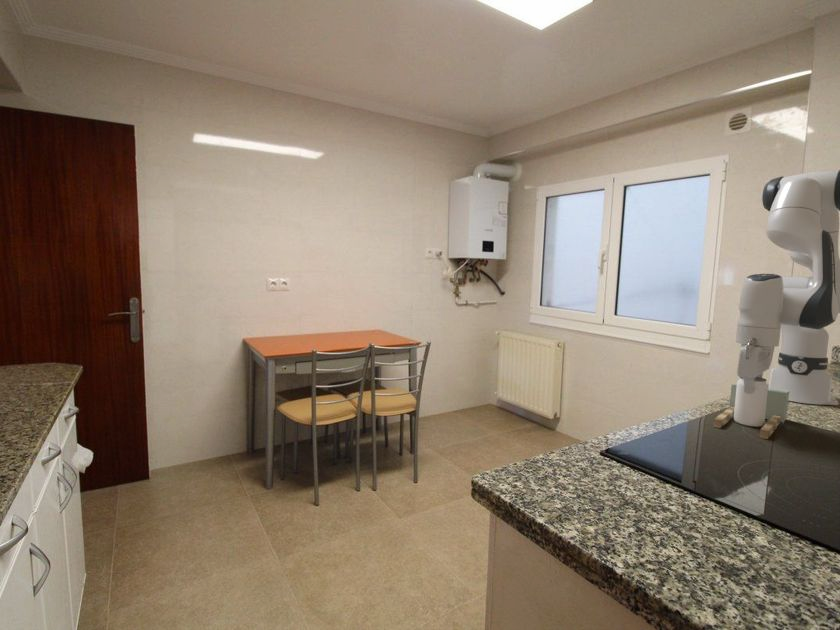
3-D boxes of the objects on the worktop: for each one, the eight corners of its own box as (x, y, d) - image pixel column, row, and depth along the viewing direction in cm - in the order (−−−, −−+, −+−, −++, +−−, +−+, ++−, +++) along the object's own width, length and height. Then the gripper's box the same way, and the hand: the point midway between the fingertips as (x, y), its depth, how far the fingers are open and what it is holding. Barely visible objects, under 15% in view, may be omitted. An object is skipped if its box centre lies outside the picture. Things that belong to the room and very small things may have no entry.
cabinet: (733, 408, 129) (735, 381, 128) (786, 419, 120) (789, 390, 119) (729, 412, 125) (731, 384, 125) (783, 423, 117) (786, 393, 116)
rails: (729, 413, 124) (730, 406, 124) (779, 424, 116) (780, 416, 116) (713, 426, 112) (713, 418, 112) (767, 439, 104) (768, 431, 104)
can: (753, 419, 119) (758, 375, 117) (770, 428, 112) (775, 381, 111) (728, 418, 119) (732, 374, 118) (743, 426, 113) (747, 380, 112)
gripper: (764, 342, 104) (758, 400, 105) (779, 336, 118) (774, 386, 119) (732, 339, 109) (727, 394, 110) (750, 333, 123) (745, 382, 124)
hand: (752, 390), depth 115 cm, fingers closed on can, 6 cm apart
